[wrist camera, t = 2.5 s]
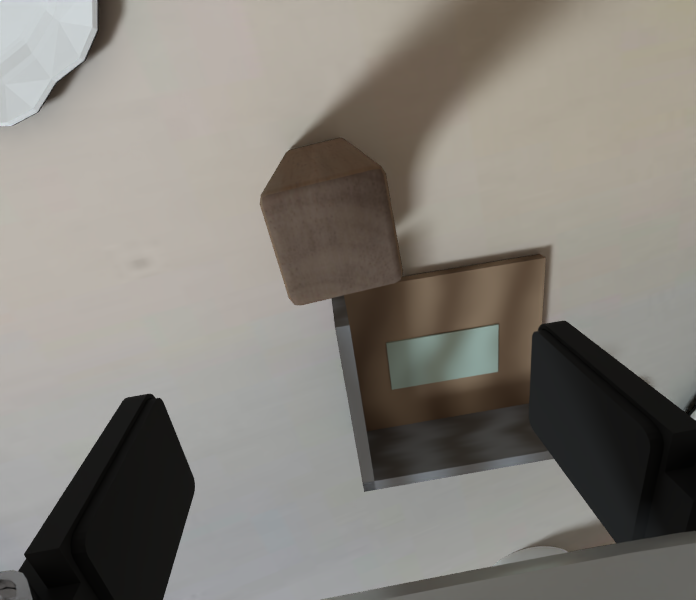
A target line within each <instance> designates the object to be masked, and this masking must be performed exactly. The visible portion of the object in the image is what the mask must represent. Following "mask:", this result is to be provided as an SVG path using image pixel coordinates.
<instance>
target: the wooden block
mask: <svg viewBox="0 0 696 600" xmlns="http://www.w3.org/2000/svg"><path fill="white" fill-rule="evenodd" d="M260 206H261V209H262V213H263V216H264V219H265V222H266V226H267V229H268V232H269V235H270V238H271V242H272V245H273V248H274V251H275V255H276V258H277V261H278V264H279V267H280V271H281V274H282V277H283V280H284V284H285V287H286V290H287V293H288V297H289V299H290V300H291V301H292V302H293V303H294V305H305V304H309V303H313V302H317V301H322V300H326V299H330V298H334V297H338V296H343V295H347V294H351V293H355V292H359V291H364V290H368V289H372V288H376V287H381V286H385V285H389V284H393V283H396V282H398V281H400V280H401V277H402V273H403V269H402V263H401V257H400V252H399V246H398V240H397V235H396V229H395V223H394V218H393V212H392V206H391V201H390V195H389V189H388V183H387V178H386V173H385V172H384V170H383V169H382V167H381V166H380V165H378V164H377V163H376V162H374V161H373V160H372V159H370V158H369V157H368V156H366V155H365V154H364V153H362V152H361V151H360V150H358V149H357V148H356V147H354V146H353V145H352V144H350V143H349V142H348V141H346V140H345V139H343V138H337V139H333V140H328V141H324V142H320V143H316V144H312V145H308V146H304V147H300V148H295V149H291V150H289V151H288V152H286V154H285V155H284V157H283V159H282V160H281V162H280V164H279V165H278V167H277V169H276V171H275V172H274V174H273V176H272V177H271V179H270V181H269V182H268V184H267V186H266V187H265V189H264V191H263V192H262V194H261V198H260Z"/></svg>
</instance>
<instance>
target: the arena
mask: <svg viewBox="0 0 696 600" xmlns="http://www.w3.org/2000/svg"><path fill="white" fill-rule="evenodd" d="M545 262H546V258H545V257H544V256H542V255H540V254H537V255H531V256H525V257H519V258H513V259H507V260H501V261H495V262H489V263H483V264H477V265H471V266H465V267H459V268H453V269H447V270H440V271H434V272H428V273H422V274H416V275H410V276H404V277H401V280H400V281H398V282H396V283H393V284H389V285H385V286H381V287H376V288H372V289H368V290H364V291H359V292H355V293H351V294H347V295H343V296H338V297H334V298H332V305H333V313H334V322H335V329H336V335H337V341H338V346H339V352H340V358H341V363H342V369H343V374H344V380H345V386H346V391H347V397H348V403H349V408H350V414H351V420H352V425H353V431H354V436H355V442H356V448H357V453H358V459H359V465H360V470H361V476H362V482H363V487H364V492H365V491H371V490H377V489H382V488H388V487H394V486H400V485H405V484H411V483H417V482H423V481H428V480H434V479H440V478H445V477H451V476H457V475H463V474H468V473H474V472H480V471H486V470H491V469H497V468H503V467H509V466H514V465H520V464H526V463H532V462H537V461H543V460H549V459H554V458H553V457H552V455H551V454H550V452H549V451H548V450H547V448H546V447H545V446H544V444H543V443H542V442H541V440H540V439H539V438H538V436H537V435H536V434H535V432H534V431H533V429H532V427H531V425H530V421H529V396H530V372H531V349H532V335H533V333H534V332H535V331H538V328H539V326H540V325H542V312H543V296H544V279H545Z"/></svg>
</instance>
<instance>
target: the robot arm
mask: <svg viewBox="0 0 696 600" xmlns="http://www.w3.org/2000/svg"><path fill="white" fill-rule="evenodd" d="M529 421H530V425H531V427H532V429H533V431H534V432H535V434H536V435H537V436H538V438H539V439H540V440H541V442H542V443H543V444H544V446H545V447H546V448H547V450H548V451H549V452H550V454H551V455H552V457H553V458H554V459H555V461H556V462H557V463H558V465H559V466H560V467H561V469H562V470H563V471H564V473H565V474H566V476H567V477H568V478H569V480H570V481H571V482H572V484H573V485H574V486H575V488H576V489H577V490H578V492H579V493H580V495H581V496H582V497H583V499H584V500H585V501H586V503H587V504H588V505H589V507H590V508H591V509H592V511H593V512H594V513H595V515H596V516H597V518H598V519H599V520H600V522H601V523H602V524H603V526H604V527H605V528H606V530H607V531H608V532H609V534H610V535H611V537H612V538H613V539H614V541H615V542H616V544H610V545H605V546H599V547H593V548H588V549H583V550H577V551H572V552H567V553H561V554H556V555H551V556H545V557H540V558H535V559H529V560H524V561H519V562H514V563H508V564H503V565H498V566H492V567H487V568H482V569H476V570H471V571H466V572H461V573H455V574H450V575H445V576H440V577H435V578H430V579H424V580H419V581H414V582H409V583H404V584H399V585H393V586H388V587H383V588H378V589H373V590H368V591H363V592H358V593H352V594H347V595H342V596H337V597H332V598H327V599H322V600H696V420H694V419H693V418H692V417H690V416H689V415H688V414H686V413H685V412H684V411H683V410H681V409H680V408H679V407H677V406H676V405H675V404H673V403H672V402H671V401H670V400H668V399H667V398H666V397H664V396H663V395H662V394H660V393H659V392H658V391H657V390H655V389H654V388H653V387H651V386H650V385H649V384H647V383H646V382H645V381H644V380H642V379H641V378H640V377H638V376H637V375H636V374H634V373H633V372H632V371H630V370H629V369H628V368H627V367H625V366H624V365H623V364H621V363H620V362H619V361H617V360H616V359H615V358H614V357H612V356H611V355H610V354H608V353H607V352H606V351H604V350H603V349H602V348H601V347H599V346H598V345H597V344H595V343H594V342H593V341H591V340H590V339H589V338H588V337H586V336H585V335H584V334H582V333H581V332H580V331H578V330H577V329H576V328H574V327H573V326H572V325H571V324H569V323H568V322H566V321H558V322H553V323H547V324H542V325H540V326H539V328H538V331H535V332H534V333H533V335H532V349H531V372H530V396H529ZM194 491H195V482H194V477H193V475H192V472H191V470H190V467H189V465H188V462H187V460H186V457H185V455H184V452H183V450H182V447H181V445H180V442H179V440H178V437H177V435H176V432H175V430H174V427H173V425H172V422H171V420H170V417H169V415H168V412H167V410H166V407H165V405H164V403H163V401H162V400H161V399H160V398H155V397H154V396H153V395H152V394H145V395H139V396H134V397H128V398H125V399H124V400H123V401H122V403H121V405H120V406H119V408H118V409H117V411H116V412H115V414H114V415H113V417H112V419H111V420H110V422H109V423H108V425H107V426H106V428H105V429H104V431H103V433H102V434H101V436H100V437H99V439H98V440H97V442H96V443H95V445H94V446H93V448H92V450H91V451H90V453H89V454H88V456H87V457H86V459H85V460H84V462H83V464H82V465H81V467H80V468H79V470H78V471H77V473H76V474H75V476H74V478H73V479H72V481H71V482H70V484H69V485H68V487H67V488H66V490H65V492H64V493H63V495H62V496H61V498H60V499H59V501H58V502H57V504H56V506H55V507H54V509H53V510H52V512H51V513H50V515H49V516H48V518H47V519H46V521H45V523H44V524H43V526H42V527H41V529H40V530H39V532H38V533H37V535H36V537H35V538H34V540H33V541H32V543H31V544H30V546H29V547H28V549H27V551H26V552H25V554H24V555H25V557H26V560H25V561H24V563H23V565H22V566H21V568H20V569H19V571H15V570H10V571H1V572H0V600H163V597H164V594H165V591H166V587H167V584H168V580H169V577H170V574H171V570H172V567H173V563H174V560H175V557H176V553H177V550H178V546H179V543H180V540H181V536H182V533H183V529H184V526H185V523H186V519H187V516H188V512H189V509H190V506H191V502H192V499H193V495H194Z"/></svg>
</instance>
